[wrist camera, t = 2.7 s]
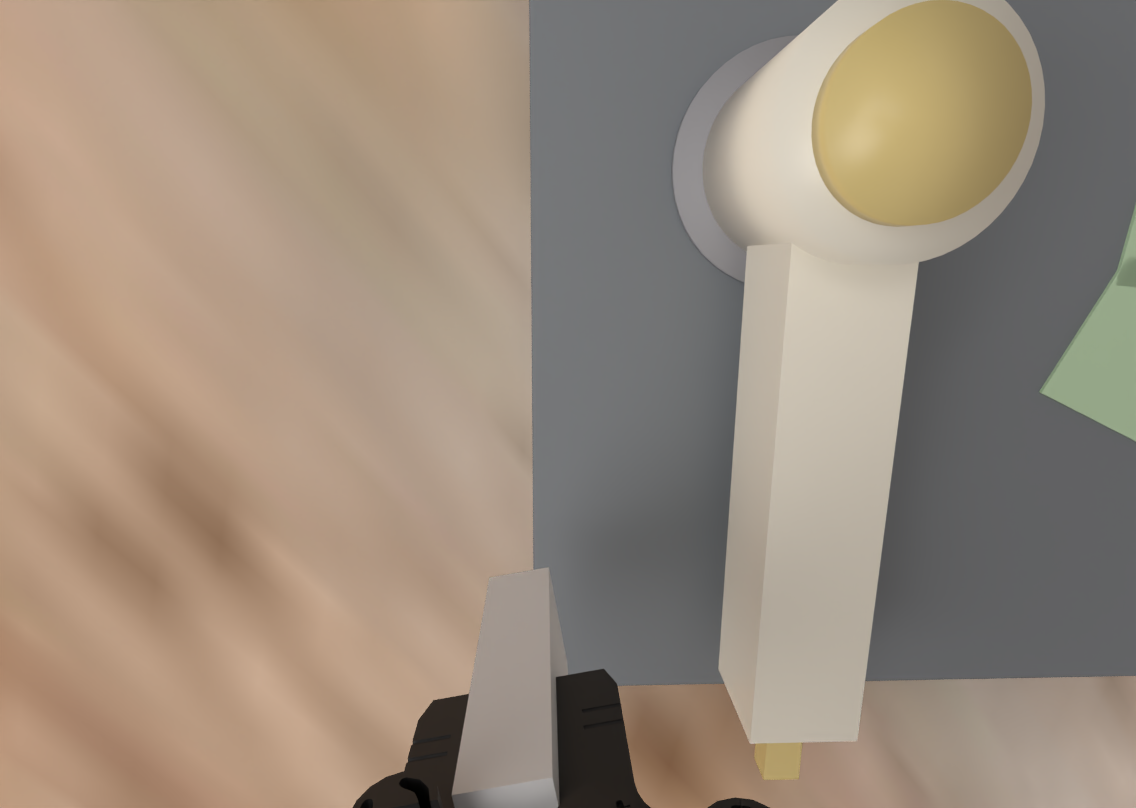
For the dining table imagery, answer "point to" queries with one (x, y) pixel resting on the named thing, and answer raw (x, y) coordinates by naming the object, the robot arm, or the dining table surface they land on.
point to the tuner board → (932, 373)
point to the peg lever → (844, 318)
